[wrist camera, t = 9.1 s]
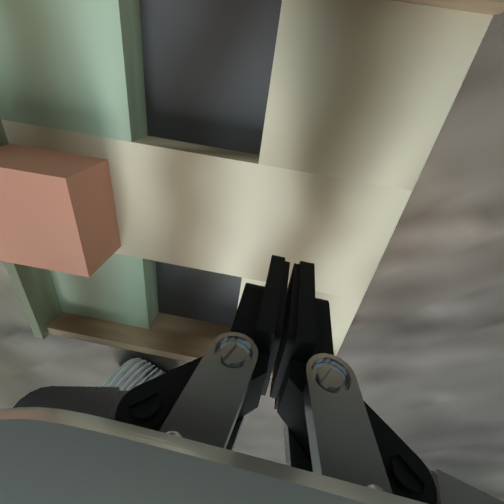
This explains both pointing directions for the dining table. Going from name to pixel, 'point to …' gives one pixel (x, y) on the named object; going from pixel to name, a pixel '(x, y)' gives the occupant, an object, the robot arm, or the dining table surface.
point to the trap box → (229, 146)
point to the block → (56, 210)
